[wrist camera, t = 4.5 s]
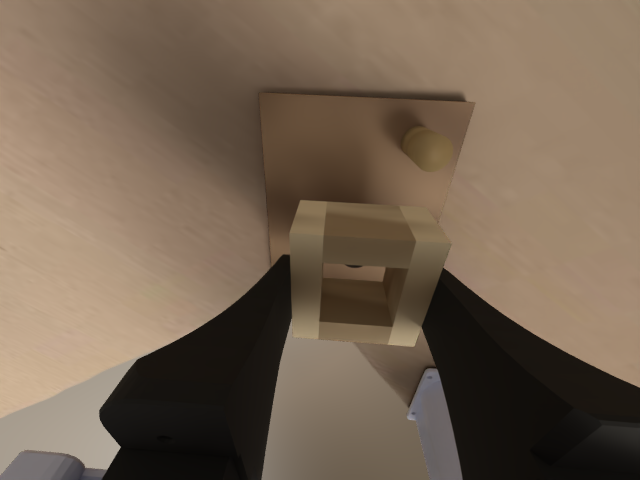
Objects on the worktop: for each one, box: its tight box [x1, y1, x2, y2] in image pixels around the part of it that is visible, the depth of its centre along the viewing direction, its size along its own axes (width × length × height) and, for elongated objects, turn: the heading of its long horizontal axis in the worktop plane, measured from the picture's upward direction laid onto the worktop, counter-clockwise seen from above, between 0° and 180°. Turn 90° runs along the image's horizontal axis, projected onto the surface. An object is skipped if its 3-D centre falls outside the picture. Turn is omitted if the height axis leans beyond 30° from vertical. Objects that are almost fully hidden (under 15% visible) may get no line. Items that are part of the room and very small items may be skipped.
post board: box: [259, 93, 475, 282], centre depth 15 cm, size 14×11×5 cm
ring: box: [289, 200, 452, 347], centre depth 12 cm, size 6×6×3 cm
